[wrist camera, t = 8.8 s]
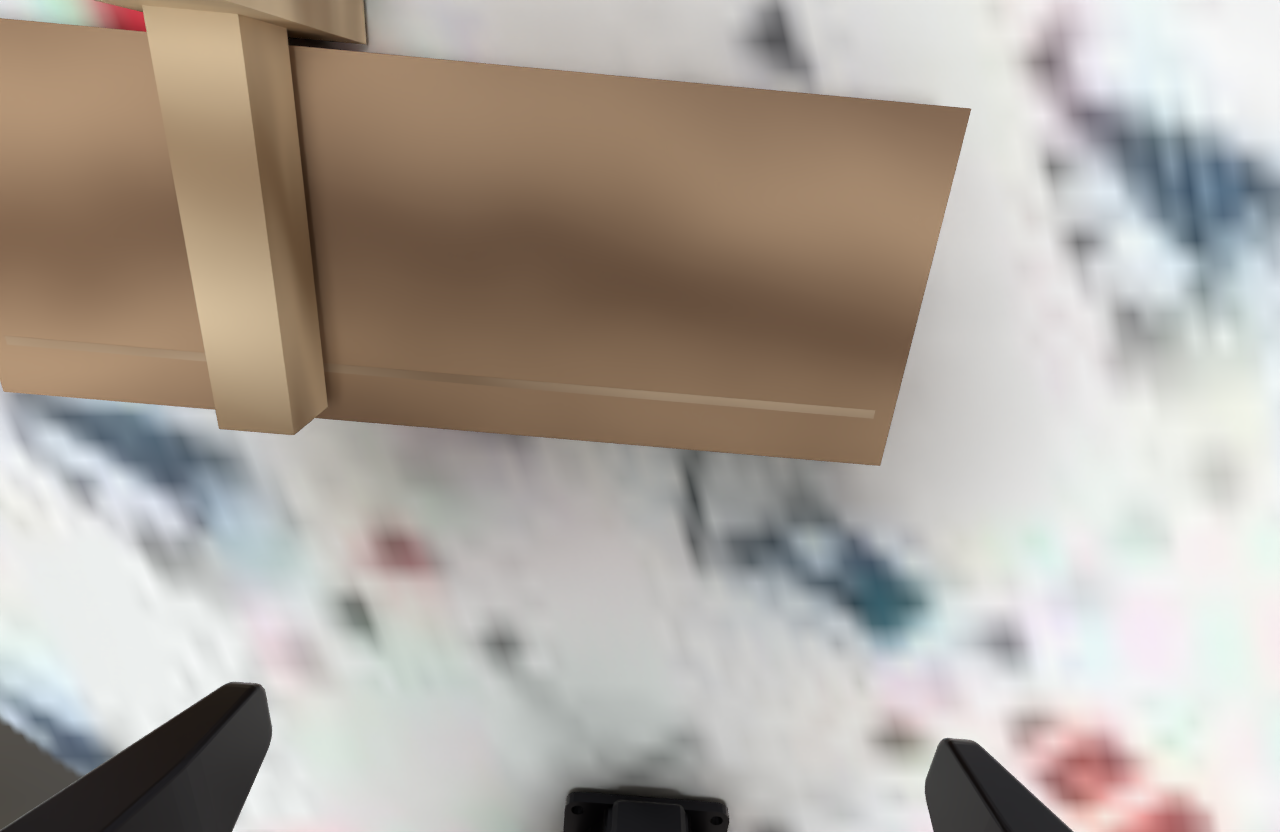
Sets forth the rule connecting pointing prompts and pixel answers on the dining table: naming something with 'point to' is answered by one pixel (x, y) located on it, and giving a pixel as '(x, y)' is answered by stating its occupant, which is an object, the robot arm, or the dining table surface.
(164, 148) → the board
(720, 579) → the dining table surface
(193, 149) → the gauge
